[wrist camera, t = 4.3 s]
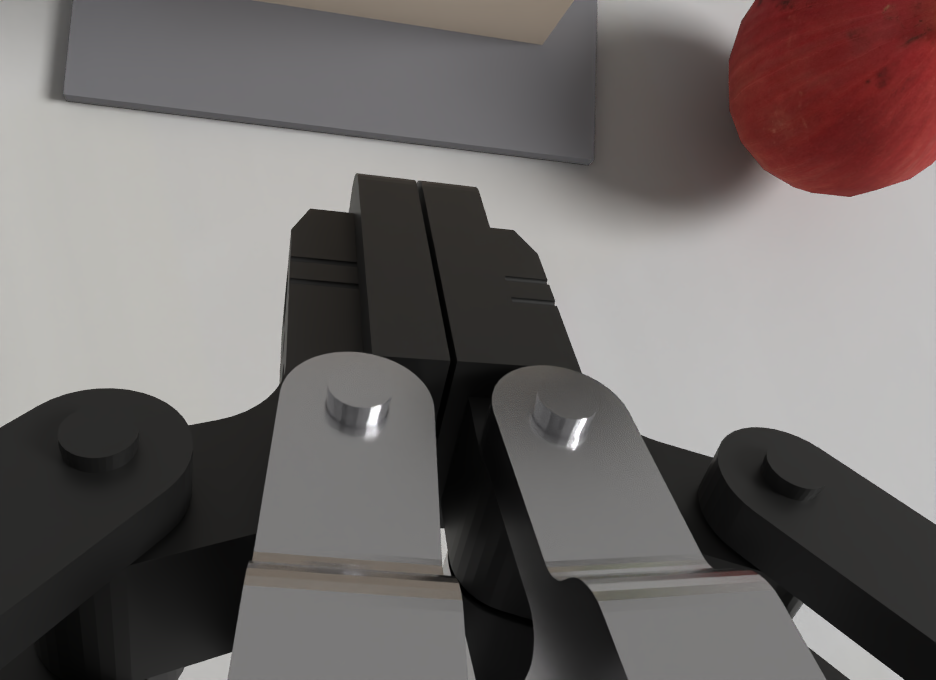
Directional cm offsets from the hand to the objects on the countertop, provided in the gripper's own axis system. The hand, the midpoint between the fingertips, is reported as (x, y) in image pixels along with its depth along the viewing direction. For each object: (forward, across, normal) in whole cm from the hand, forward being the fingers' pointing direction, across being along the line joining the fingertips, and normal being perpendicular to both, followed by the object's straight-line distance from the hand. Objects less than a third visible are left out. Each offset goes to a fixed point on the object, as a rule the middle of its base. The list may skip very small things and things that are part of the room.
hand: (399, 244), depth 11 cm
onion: (+13, -12, +3) cm, 18 cm away
